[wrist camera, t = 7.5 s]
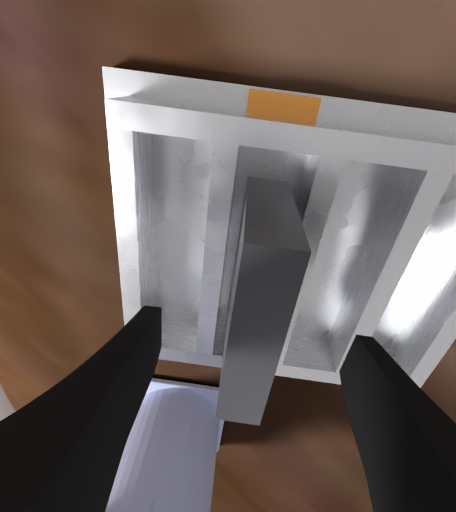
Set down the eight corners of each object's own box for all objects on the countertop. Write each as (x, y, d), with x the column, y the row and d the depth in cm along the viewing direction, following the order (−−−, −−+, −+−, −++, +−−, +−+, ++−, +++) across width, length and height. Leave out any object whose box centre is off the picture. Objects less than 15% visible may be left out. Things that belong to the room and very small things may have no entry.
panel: (258, 317, 19) (259, 425, 13) (227, 313, 19) (215, 419, 13) (288, 181, 15) (311, 251, 9) (248, 176, 15) (243, 242, 9)
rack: (402, 361, 22) (426, 407, 19) (130, 323, 22) (110, 362, 19) (548, 125, 13) (632, 137, 10) (111, 67, 14) (71, 63, 11)
